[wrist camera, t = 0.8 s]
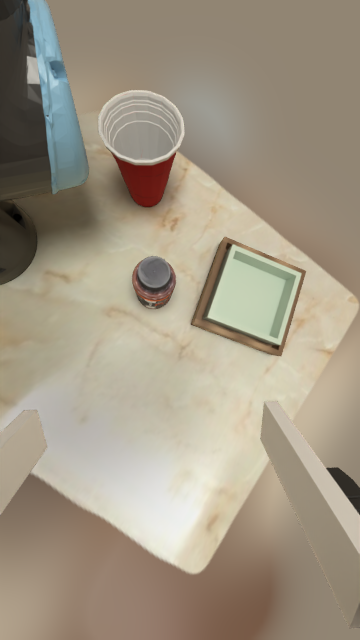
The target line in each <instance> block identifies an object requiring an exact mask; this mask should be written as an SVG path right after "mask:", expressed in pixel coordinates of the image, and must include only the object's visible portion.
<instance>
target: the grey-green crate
mask: <svg viewBox="0 0 360 640" xmlns="http://www.w3.org/2000/svg"><path fill="white" fill-rule="evenodd" d="M301 274H302V273H300V272H297V271H295V270H293V269H290V268H288V267H286V266H283V265H281V264H279V263H276V262H274V261H271V260H269V259H267V258H264V257H262V256H260V255H257V254H255V253H253V252H250V251H248V250H245V249H243V248H241V247H238V246H236V245H234V244H233V245H232V246H231V247H230V248H229V249H228V251H227V252H226V253H225V256H224V259H223V261H222V264H221V267H220V270H219V273H218V276H217V279H216V281H215V284H214V287H213V290H212V293H211V296H210V299H209V301H208V304H207V307H206V310H205V313H204V316H203V320H206V321H209V322H211V323H214V324H216V325H219V326H222V327H224V328H227V329H230V330H232V331H235V332H237V333H240V334H243V335H245V336H248V337H251V338H253V339H256V340H258V341H261V342H264V343H266V344H270V345H281V342H282V339H283V335H284V332H285V329H286V325H287V322H288V318H289V315H290V312H291V308H292V305H293V301H294V298H295V295H296V291H297V288H298V285H299V281H300V278H301Z"/></svg>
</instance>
